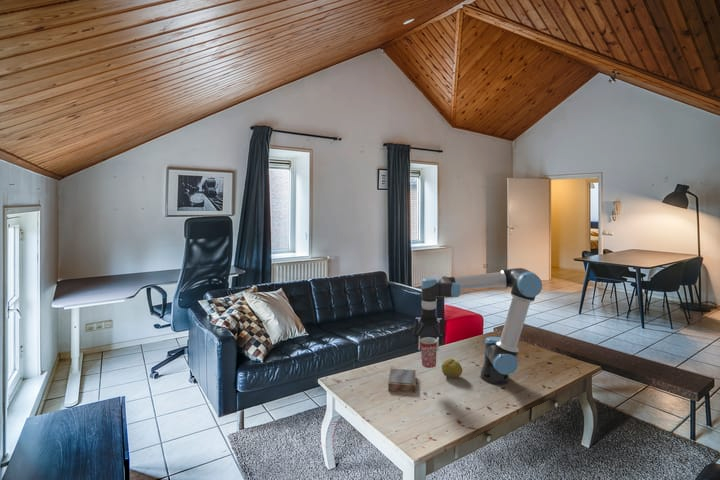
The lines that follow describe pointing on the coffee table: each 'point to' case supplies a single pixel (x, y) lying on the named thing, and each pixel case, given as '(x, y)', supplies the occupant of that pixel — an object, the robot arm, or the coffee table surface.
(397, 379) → the stand
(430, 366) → the mug
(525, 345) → the coffee table surface
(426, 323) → the robot arm
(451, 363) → the fruit
